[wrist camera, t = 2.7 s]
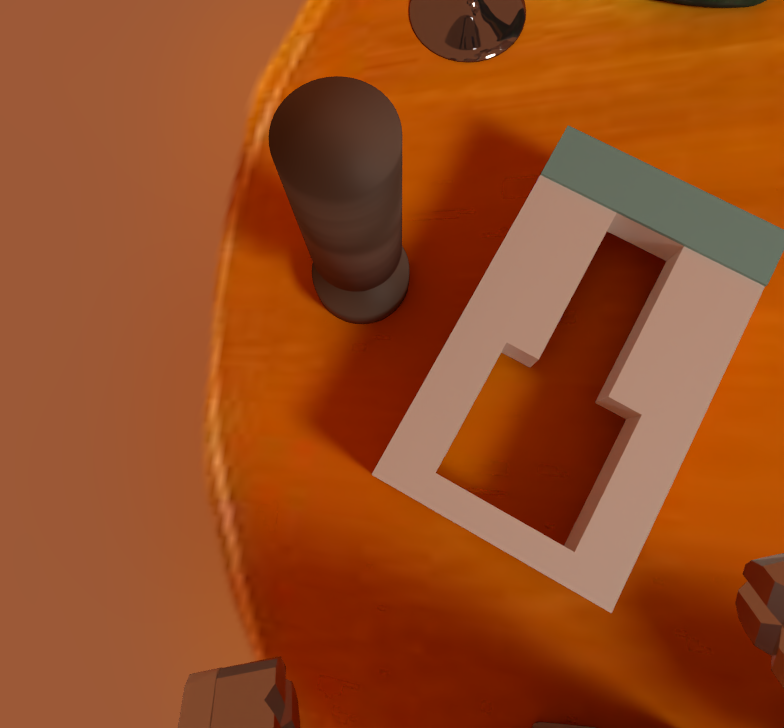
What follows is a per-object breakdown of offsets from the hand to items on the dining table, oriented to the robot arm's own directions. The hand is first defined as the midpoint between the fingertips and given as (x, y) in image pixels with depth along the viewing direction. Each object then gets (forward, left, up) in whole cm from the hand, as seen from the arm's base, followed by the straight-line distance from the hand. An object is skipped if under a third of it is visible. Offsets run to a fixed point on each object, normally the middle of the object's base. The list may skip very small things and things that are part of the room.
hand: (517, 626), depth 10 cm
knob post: (-10, -10, -21) cm, 25 cm away
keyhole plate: (-11, +2, -21) cm, 23 cm away
